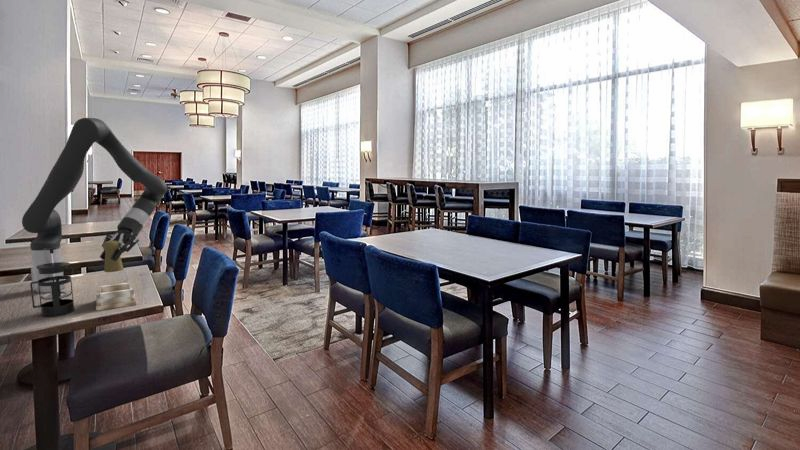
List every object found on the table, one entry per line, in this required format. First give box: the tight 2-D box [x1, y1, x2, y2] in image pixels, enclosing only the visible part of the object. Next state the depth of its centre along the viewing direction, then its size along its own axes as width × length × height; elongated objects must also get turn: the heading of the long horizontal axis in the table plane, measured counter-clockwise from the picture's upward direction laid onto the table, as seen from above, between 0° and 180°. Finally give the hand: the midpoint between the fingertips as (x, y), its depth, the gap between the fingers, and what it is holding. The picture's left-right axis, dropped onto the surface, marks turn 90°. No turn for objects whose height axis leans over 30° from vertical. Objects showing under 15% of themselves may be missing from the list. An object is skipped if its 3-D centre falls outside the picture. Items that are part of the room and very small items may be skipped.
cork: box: [102, 241, 124, 273], centre depth 156 cm, size 6×6×11 cm
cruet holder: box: [95, 281, 137, 311], centre depth 158 cm, size 12×14×6 cm
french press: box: [29, 247, 76, 318], centre depth 145 cm, size 12×9×23 cm
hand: (107, 259), depth 154 cm, fingers closed on cork, 4 cm apart
